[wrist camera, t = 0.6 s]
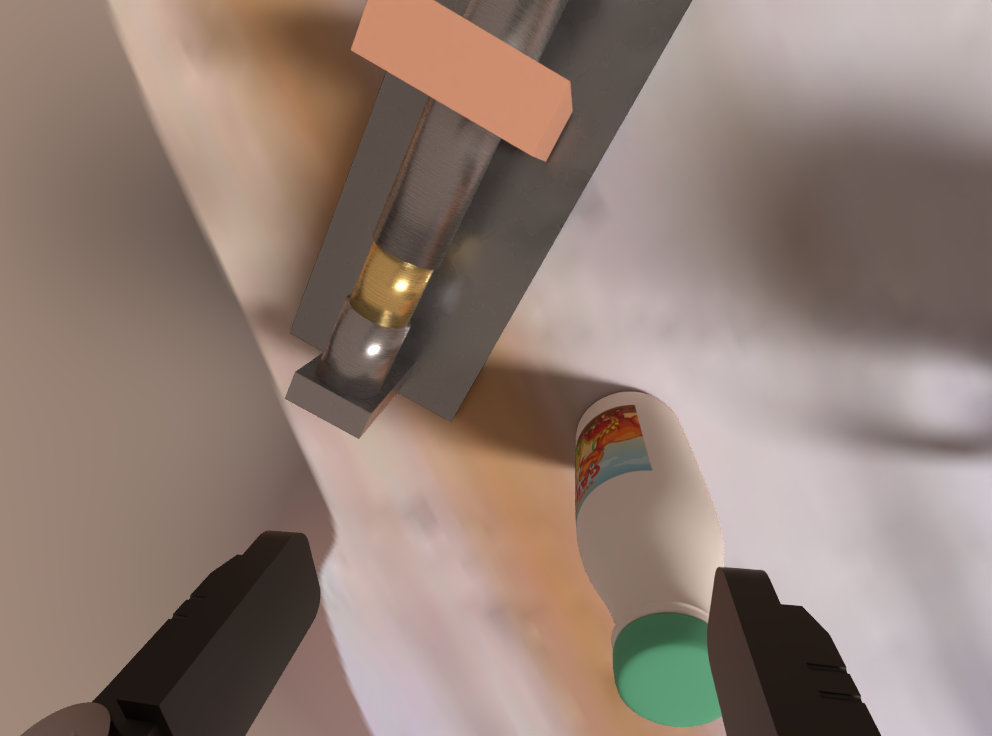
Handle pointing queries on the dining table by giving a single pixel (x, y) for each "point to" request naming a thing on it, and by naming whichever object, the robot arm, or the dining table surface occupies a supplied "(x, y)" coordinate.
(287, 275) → the dining table surface
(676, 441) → the milk bottle
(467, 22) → the collar
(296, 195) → the dining table surface
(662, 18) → the rail
